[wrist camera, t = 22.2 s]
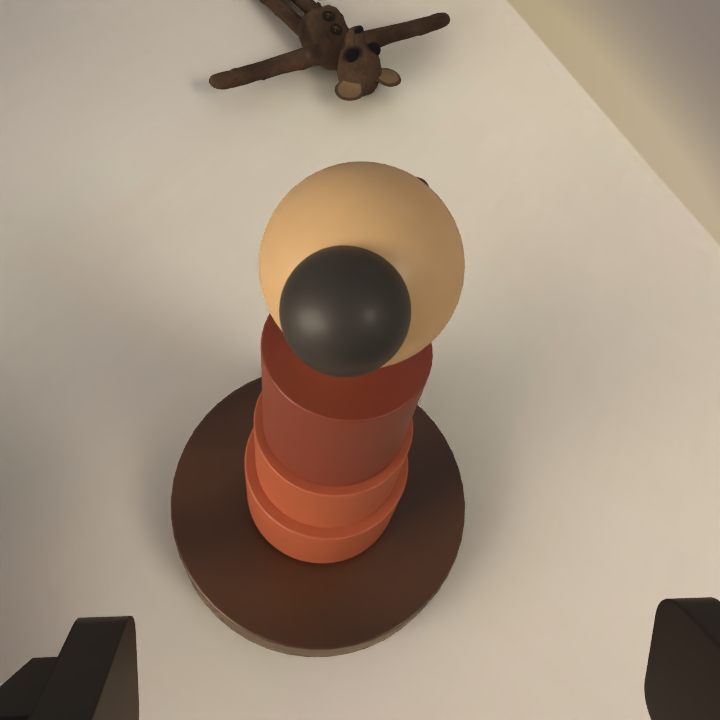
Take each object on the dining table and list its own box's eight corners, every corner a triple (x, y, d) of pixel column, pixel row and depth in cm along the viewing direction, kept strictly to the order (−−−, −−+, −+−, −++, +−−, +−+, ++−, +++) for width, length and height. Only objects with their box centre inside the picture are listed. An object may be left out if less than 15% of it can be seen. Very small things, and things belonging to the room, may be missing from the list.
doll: (377, 588, 25) (506, 370, 11) (224, 549, 25) (165, 284, 11) (407, 441, 29) (536, 131, 15) (271, 407, 29) (271, 67, 15)
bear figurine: (374, -78, 49) (498, 12, 43) (370, -18, 53) (484, 75, 46) (139, -31, 43) (241, 85, 36) (152, 35, 46) (247, 151, 40)
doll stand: (151, 424, 30) (143, 404, 29) (395, 361, 33) (401, 339, 32) (215, 705, 25) (210, 701, 23) (499, 597, 28) (514, 586, 26)
